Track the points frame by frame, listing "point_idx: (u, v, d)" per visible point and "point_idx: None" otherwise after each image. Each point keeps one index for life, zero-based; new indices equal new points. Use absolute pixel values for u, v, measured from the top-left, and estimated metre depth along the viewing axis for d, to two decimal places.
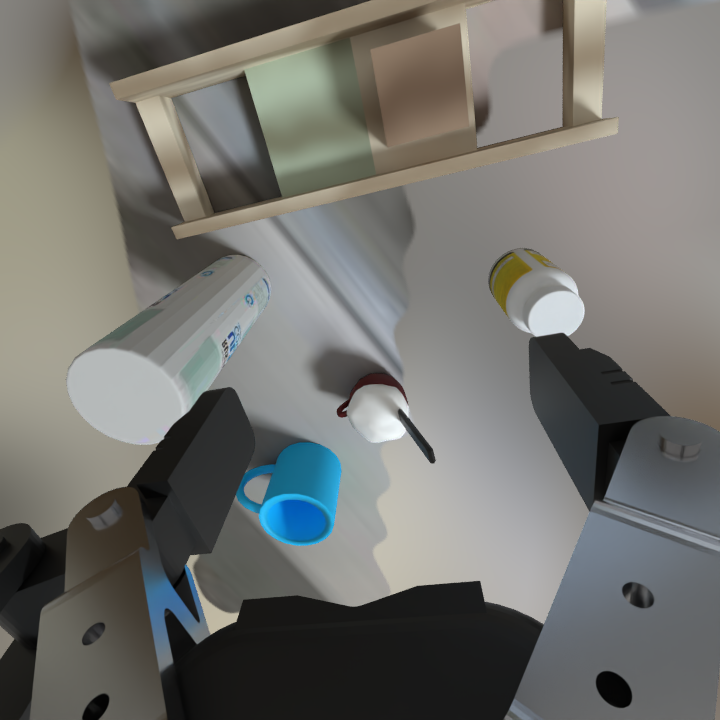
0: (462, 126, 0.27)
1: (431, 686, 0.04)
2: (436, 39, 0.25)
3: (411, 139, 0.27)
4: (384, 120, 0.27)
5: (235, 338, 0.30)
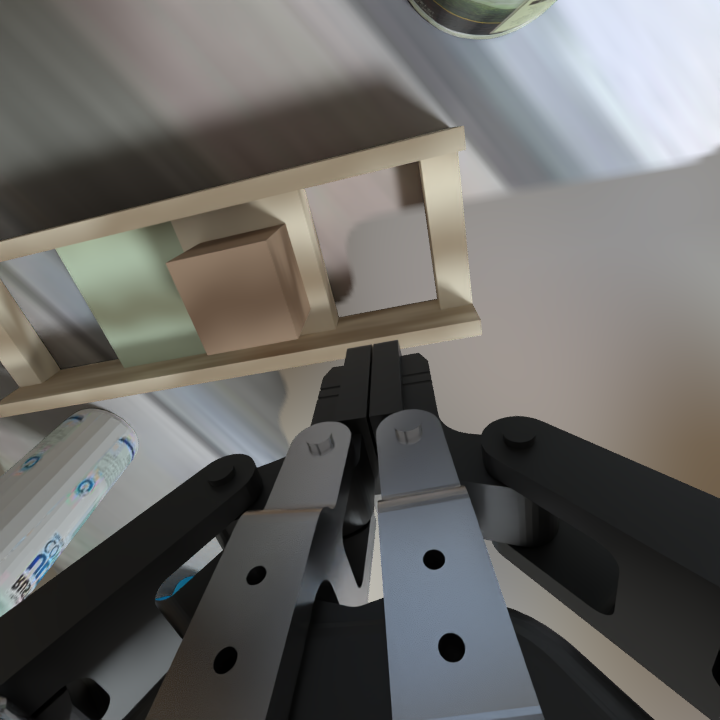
0: (290, 338, 0.22)
1: None
2: (241, 255, 0.20)
3: (233, 348, 0.23)
4: (198, 330, 0.23)
5: (48, 556, 0.26)
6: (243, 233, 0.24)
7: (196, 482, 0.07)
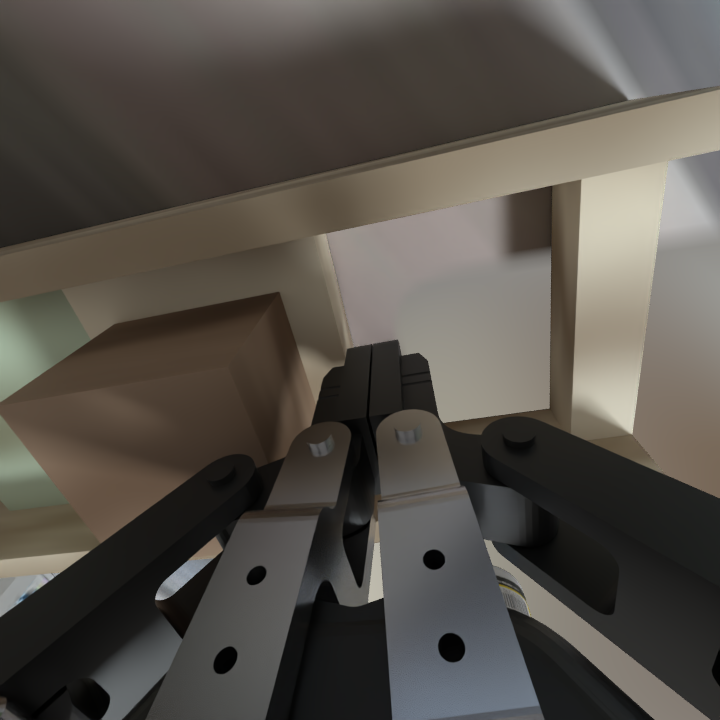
0: None
1: None
2: (168, 396, 0.08)
3: None
4: (91, 525, 0.11)
5: None
6: (196, 309, 0.12)
7: (196, 482, 0.07)
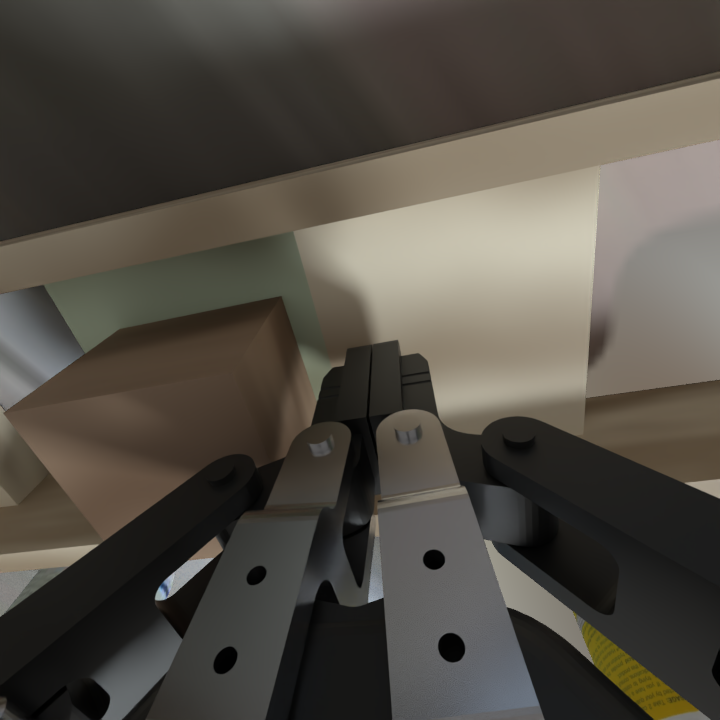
0: None
1: None
2: (174, 401, 0.09)
3: None
4: (99, 529, 0.11)
5: None
6: (199, 314, 0.12)
7: (196, 482, 0.07)
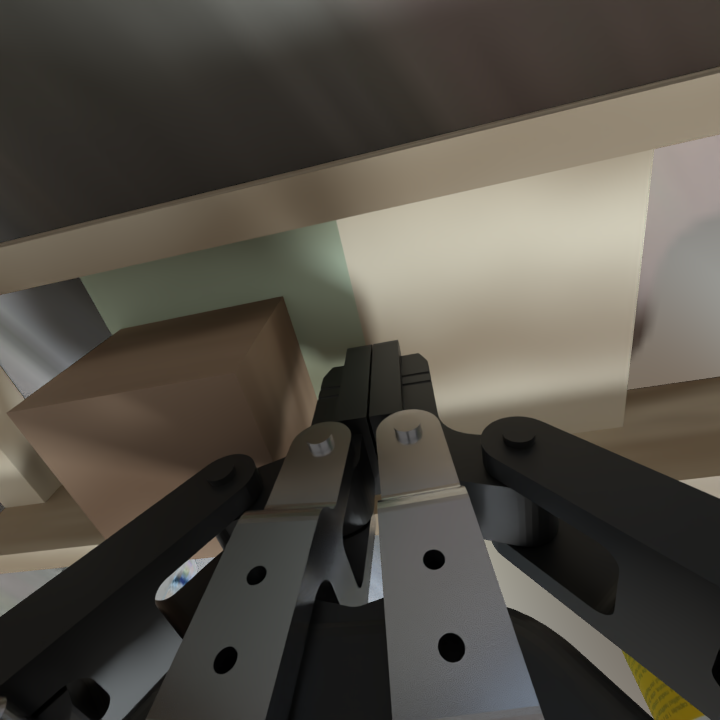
0: None
1: None
2: (177, 401, 0.09)
3: None
4: (101, 528, 0.11)
5: None
6: (201, 314, 0.12)
7: (196, 482, 0.07)
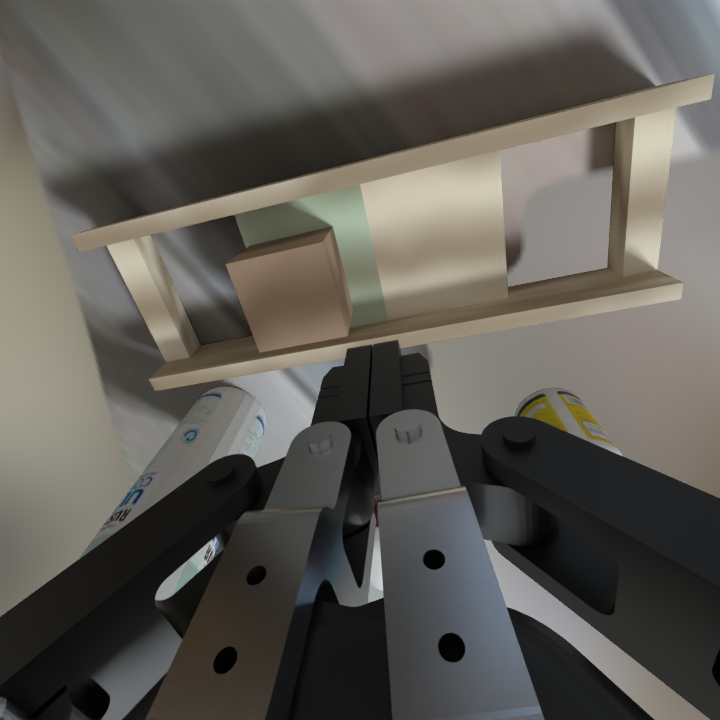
0: (340, 335, 0.23)
1: None
2: (298, 256, 0.21)
3: (285, 346, 0.24)
4: (252, 328, 0.24)
5: None
6: (292, 236, 0.25)
7: (196, 482, 0.07)
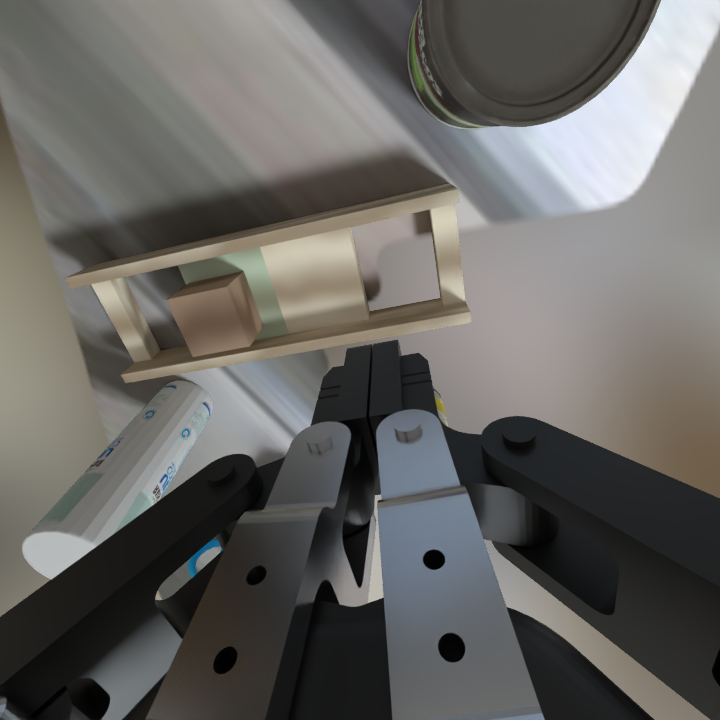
0: (245, 346, 0.35)
1: None
2: (211, 295, 0.33)
3: (209, 352, 0.36)
4: (186, 341, 0.35)
5: (168, 476, 0.37)
6: (216, 277, 0.37)
7: (196, 482, 0.07)
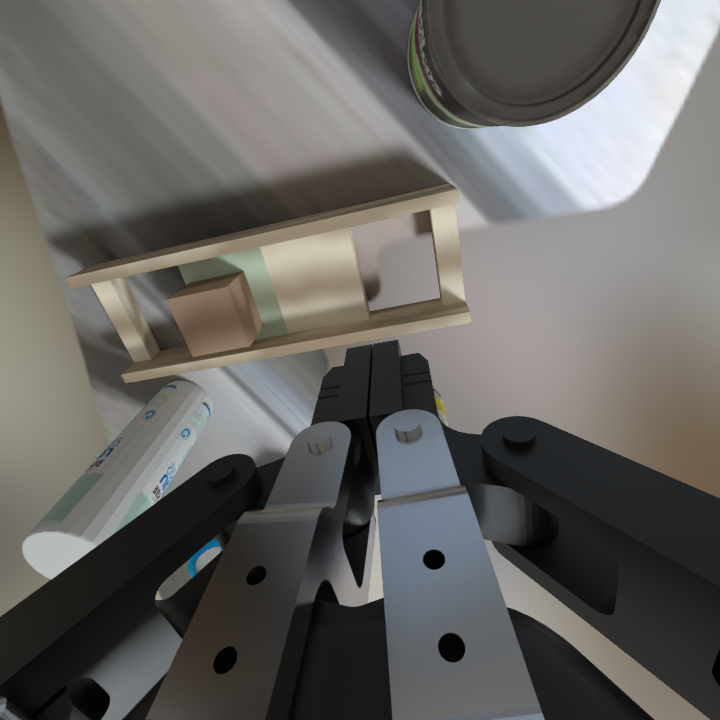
0: (245, 346, 0.35)
1: None
2: (211, 295, 0.33)
3: (209, 352, 0.36)
4: (186, 341, 0.35)
5: (168, 476, 0.37)
6: (216, 277, 0.37)
7: (196, 482, 0.07)
